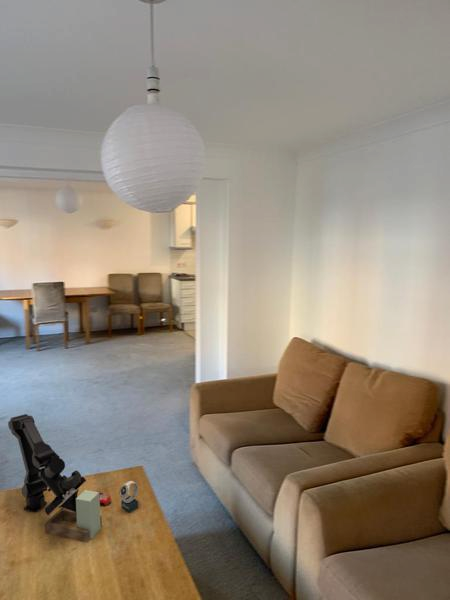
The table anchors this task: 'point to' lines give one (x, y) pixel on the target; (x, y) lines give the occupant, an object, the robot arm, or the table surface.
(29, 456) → the robot arm
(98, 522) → the block
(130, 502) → the watch
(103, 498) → the race car
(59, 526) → the brown rectangular frame
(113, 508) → the table surface
